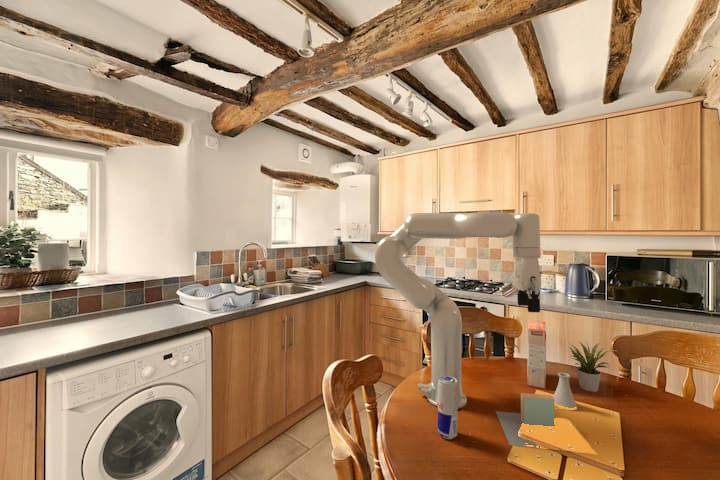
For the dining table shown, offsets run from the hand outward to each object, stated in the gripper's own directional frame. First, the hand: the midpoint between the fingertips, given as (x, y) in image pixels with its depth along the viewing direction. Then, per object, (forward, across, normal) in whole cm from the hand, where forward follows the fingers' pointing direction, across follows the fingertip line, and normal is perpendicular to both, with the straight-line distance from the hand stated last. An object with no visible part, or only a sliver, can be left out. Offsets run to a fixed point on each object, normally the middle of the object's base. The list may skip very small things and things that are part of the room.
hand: (528, 308), depth 97 cm
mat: (+31, +12, -2) cm, 33 cm away
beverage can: (+31, +18, -26) cm, 44 cm away
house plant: (+32, -18, +26) cm, 45 cm away
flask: (+32, -4, +11) cm, 33 cm away
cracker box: (+31, -22, +9) cm, 39 cm away
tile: (+31, +9, -1) cm, 32 cm away
